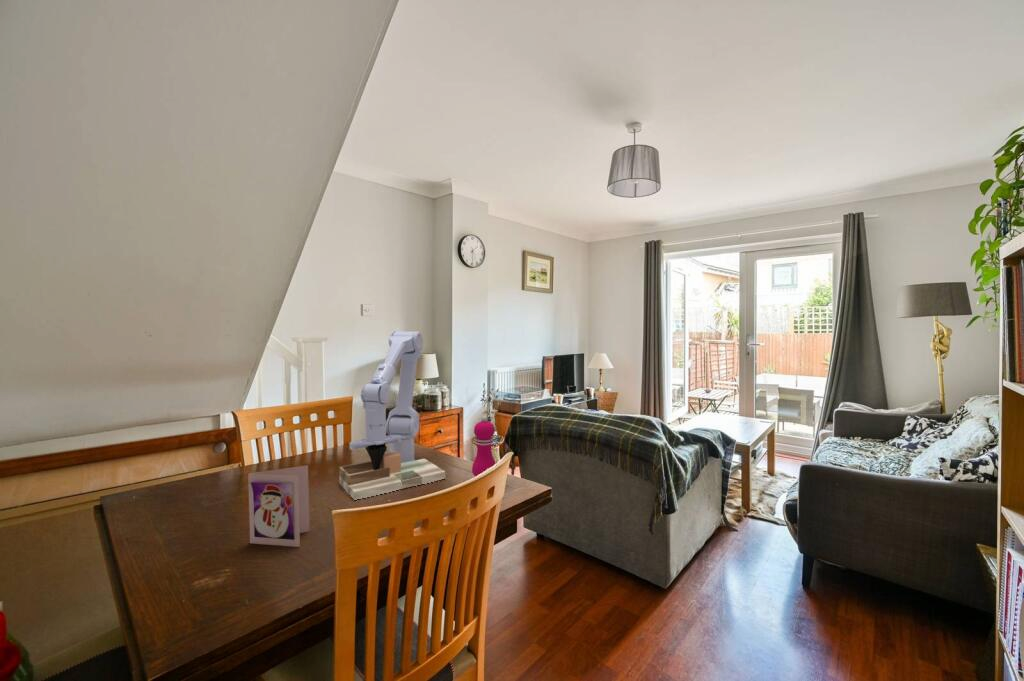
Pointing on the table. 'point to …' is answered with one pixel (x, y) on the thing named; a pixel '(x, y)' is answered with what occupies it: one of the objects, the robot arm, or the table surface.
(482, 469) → the pepper mill
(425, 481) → the plate
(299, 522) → the greeting card
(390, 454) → the cube
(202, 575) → the table surface
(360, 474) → the wooden frame
